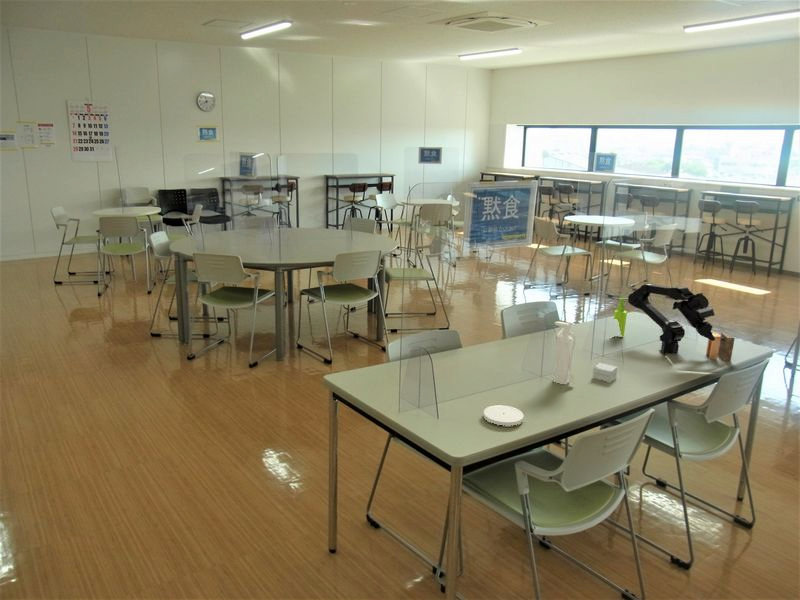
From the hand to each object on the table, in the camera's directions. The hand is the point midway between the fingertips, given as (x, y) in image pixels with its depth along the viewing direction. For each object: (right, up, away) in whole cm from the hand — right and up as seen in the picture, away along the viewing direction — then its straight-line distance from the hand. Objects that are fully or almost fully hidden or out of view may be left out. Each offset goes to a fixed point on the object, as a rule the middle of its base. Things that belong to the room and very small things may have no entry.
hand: (710, 337), depth 285 cm
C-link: (+1, -10, +3) cm, 10 cm away
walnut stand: (+4, -11, +2) cm, 12 cm away
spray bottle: (-76, -17, -29) cm, 83 cm away
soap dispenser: (-31, -2, +33) cm, 45 cm away
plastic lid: (-106, -26, -64) cm, 126 cm away
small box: (-56, -16, -23) cm, 63 cm away
